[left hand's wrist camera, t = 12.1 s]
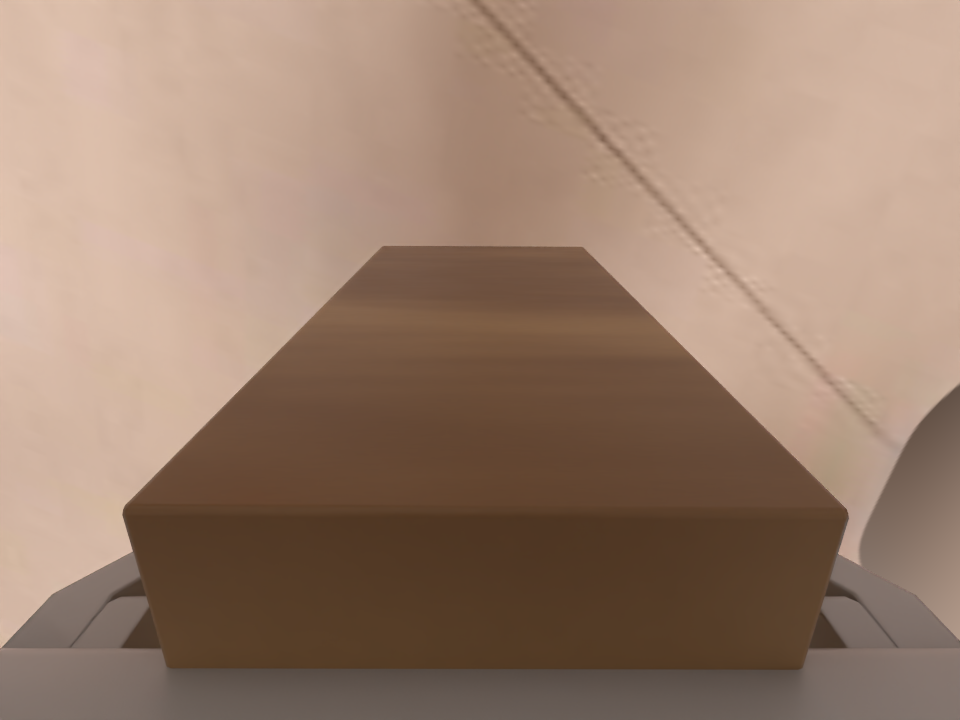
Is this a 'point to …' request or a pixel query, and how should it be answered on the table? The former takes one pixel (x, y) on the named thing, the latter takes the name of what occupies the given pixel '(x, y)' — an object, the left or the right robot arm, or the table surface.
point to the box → (484, 490)
